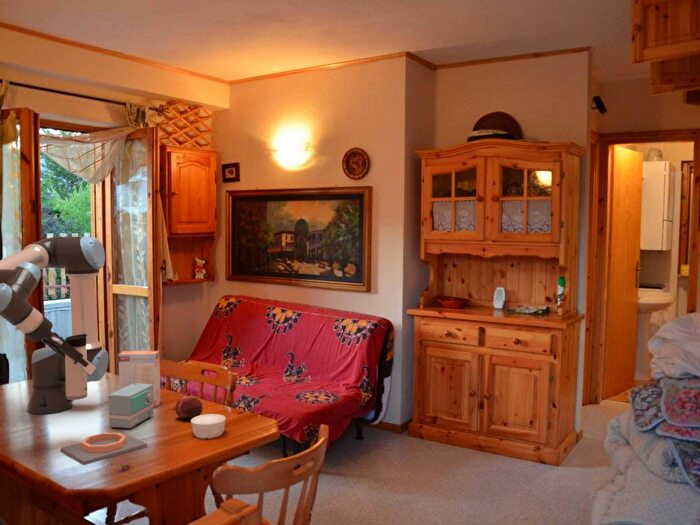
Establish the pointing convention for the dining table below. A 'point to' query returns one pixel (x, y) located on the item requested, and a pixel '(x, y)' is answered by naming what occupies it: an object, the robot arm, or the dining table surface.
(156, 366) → the cracker box
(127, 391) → the radio
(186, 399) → the fruit
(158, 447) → the dining table surface
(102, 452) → the mug stand
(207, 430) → the ramekin
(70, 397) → the travel mug
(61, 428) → the dining table surface
